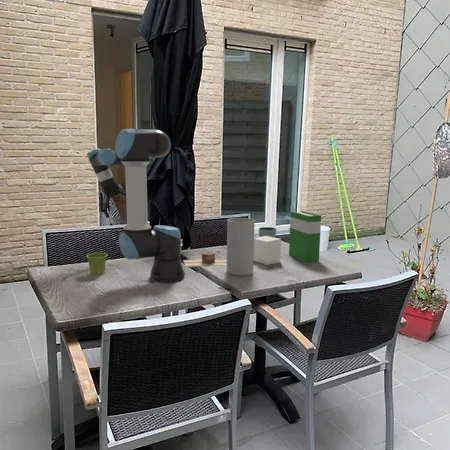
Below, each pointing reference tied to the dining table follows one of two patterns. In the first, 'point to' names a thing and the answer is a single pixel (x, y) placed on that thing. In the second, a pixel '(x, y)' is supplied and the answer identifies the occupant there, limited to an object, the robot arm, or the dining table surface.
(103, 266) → the plant pot
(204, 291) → the dining table surface
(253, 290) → the dining table surface
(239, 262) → the cylinder vase
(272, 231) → the grey-blue cup
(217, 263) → the wooden cutting board
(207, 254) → the walnut block
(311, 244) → the hardback book
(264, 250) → the white cover
